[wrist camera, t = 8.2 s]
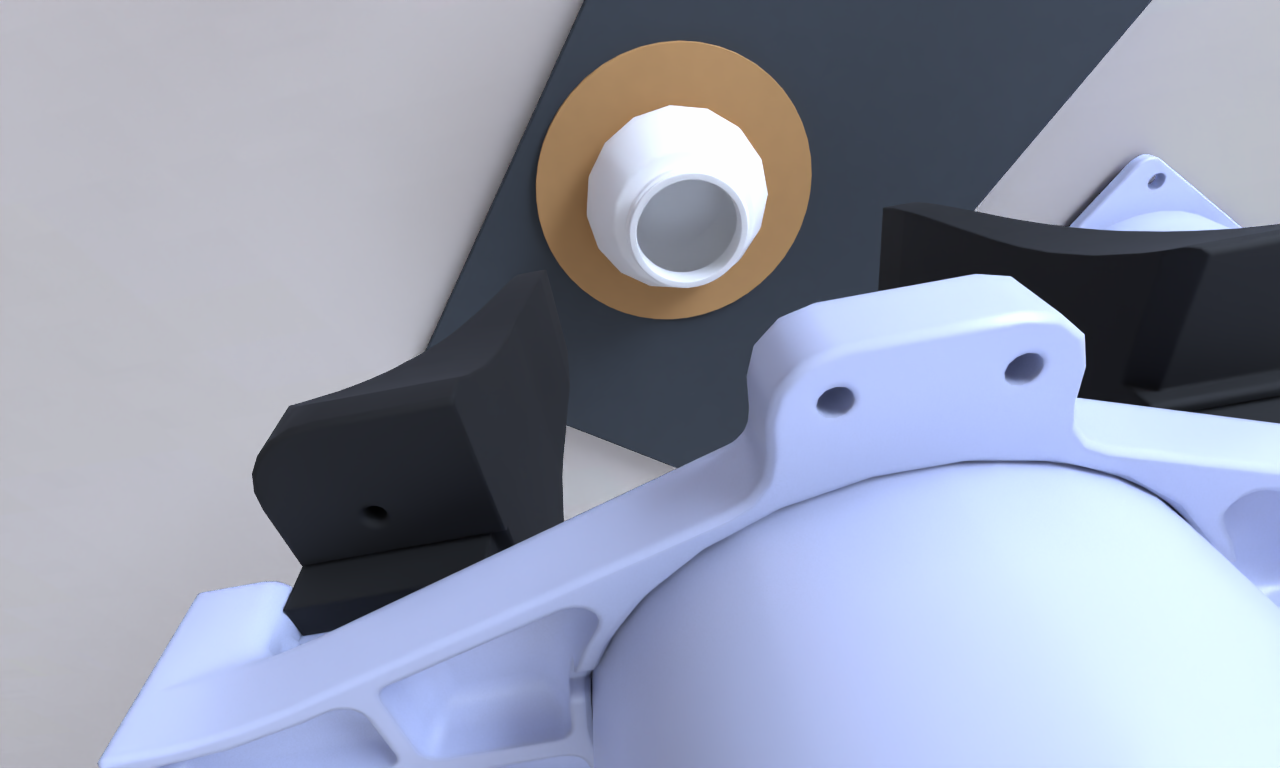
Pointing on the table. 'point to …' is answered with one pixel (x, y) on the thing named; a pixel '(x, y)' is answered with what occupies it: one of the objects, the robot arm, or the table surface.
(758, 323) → the mat
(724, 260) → the lidless jar
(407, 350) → the table surface
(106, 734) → the table surface
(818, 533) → the robot arm
